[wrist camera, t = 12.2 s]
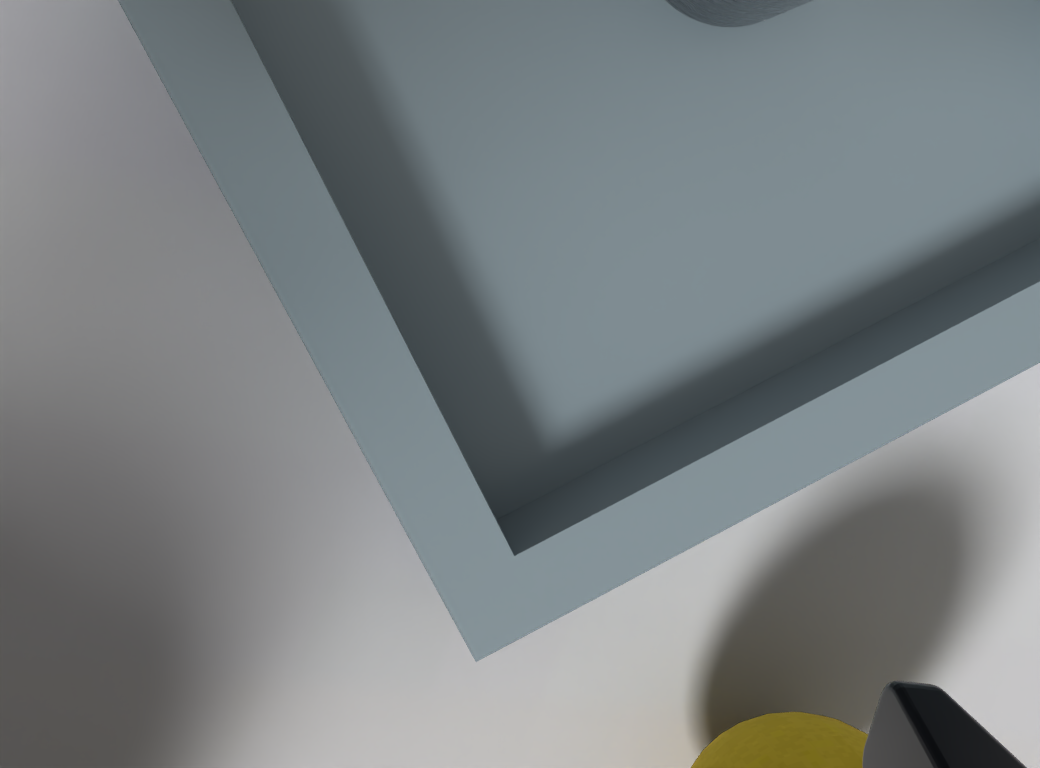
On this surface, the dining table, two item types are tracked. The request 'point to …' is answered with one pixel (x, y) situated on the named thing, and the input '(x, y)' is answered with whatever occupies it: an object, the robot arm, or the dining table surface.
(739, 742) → the lemon
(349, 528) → the dining table surface
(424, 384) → the slate tray
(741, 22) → the steel pin
